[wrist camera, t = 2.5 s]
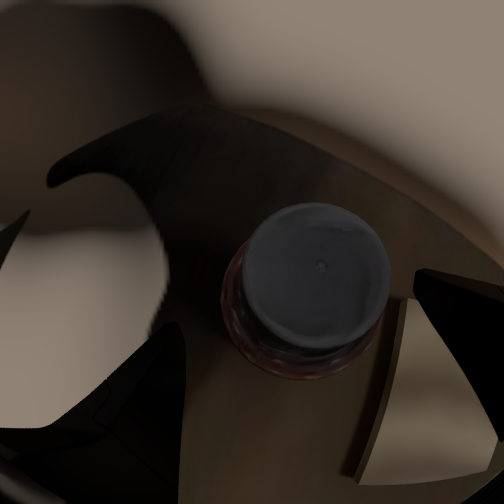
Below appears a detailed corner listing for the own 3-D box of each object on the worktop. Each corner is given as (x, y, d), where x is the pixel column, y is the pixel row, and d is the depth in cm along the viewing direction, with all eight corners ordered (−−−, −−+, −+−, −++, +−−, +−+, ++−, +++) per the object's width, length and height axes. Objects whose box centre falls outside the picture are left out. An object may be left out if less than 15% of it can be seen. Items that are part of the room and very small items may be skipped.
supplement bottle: (233, 293, 18) (190, 188, 8) (320, 275, 18) (376, 160, 8) (250, 381, 16) (221, 410, 5) (342, 360, 16) (448, 342, 5)
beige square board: (478, 467, 10) (486, 470, 9) (353, 478, 12) (358, 484, 11) (508, 327, 15) (517, 324, 14) (400, 302, 17) (407, 298, 16)
